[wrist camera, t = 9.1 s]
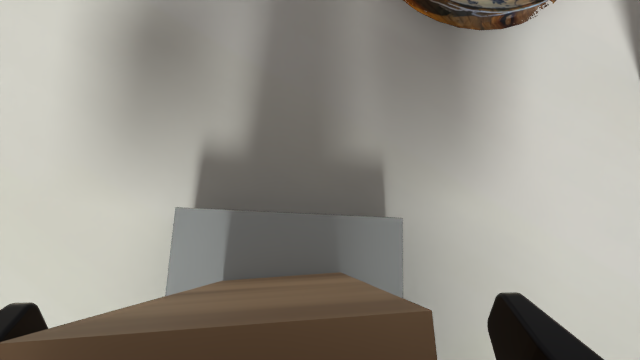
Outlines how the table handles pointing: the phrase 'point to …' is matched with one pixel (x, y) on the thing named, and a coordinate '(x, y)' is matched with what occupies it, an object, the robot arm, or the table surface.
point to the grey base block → (282, 247)
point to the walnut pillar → (247, 325)
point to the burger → (479, 12)
